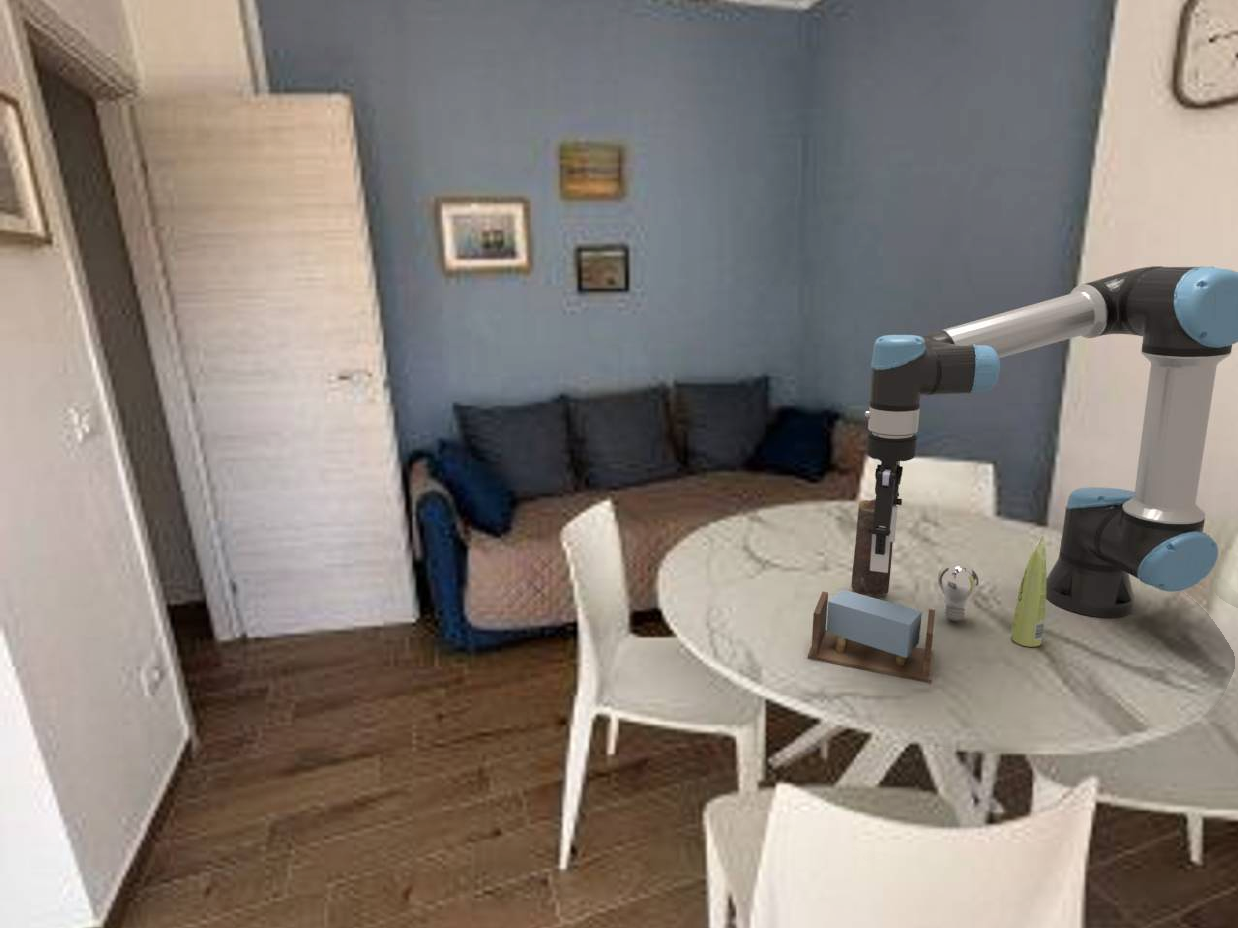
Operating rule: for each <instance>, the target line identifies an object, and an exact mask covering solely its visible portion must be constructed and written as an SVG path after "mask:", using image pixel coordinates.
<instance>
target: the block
mask: <svg viewBox="0 0 1238 928" xmlns="http://www.w3.org/2000/svg"><path fill="white" fill-rule="evenodd" d="M922 616H923V611H921V610H918V609H915V608H911V607H908V606H904V605H900V604H897V603H893V602H891V601H886V600H882V599H879V598H877V597H873V596H867V595H861V594H858V593H856V592H855V591H849V590H846V589H841V590H840V591H839V592H837V594H835V595H834V596H832V598H830V599H829V600H828V604H827V620H826V632H827V633H830V634H833V635H836V636H840V637H843V638H846V639H849V640H852V641H855V642H858V643H862V644H865V645H868V646H871V647H874V648H877V649H880V650H883V651H887V652H890V653H893V654H896V655H899V656H902V657H905V658H907V657H908V656H909V654H910V653H911V652H912V651H913V650H914V648H915V647H918V644H920V637H921V636H920V634H921V624H922Z"/></svg>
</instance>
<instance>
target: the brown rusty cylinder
mask: <svg viewBox="0 0 1238 928" xmlns="http://www.w3.org/2000/svg"><path fill="white" fill-rule="evenodd" d="M875 500H876V498H873V499H870V500H869V499H864V500H861V501H860V502H859V503H858V507H857V508H858V509H857V520H856V531H855V544H854V556H853V564H852V572H851V573H852V574H851V586H850V587H851V588H852V590H853V592H854V593H858V594H861V595H865V596H868V597H873V598H878V597H883V596H886V595H887V594H888V593H889V589H890V581H891V568H892V567H891V566H892V555H893V547H894V545H893V543H894V542H890V552H889V565H888V573H884V572H877V571H870V561H871V547H872V534H869V533H868V528H870V529H872V528H873V519H874V509H875ZM894 506H897V505H894ZM877 527H879V526H877Z"/></svg>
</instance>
